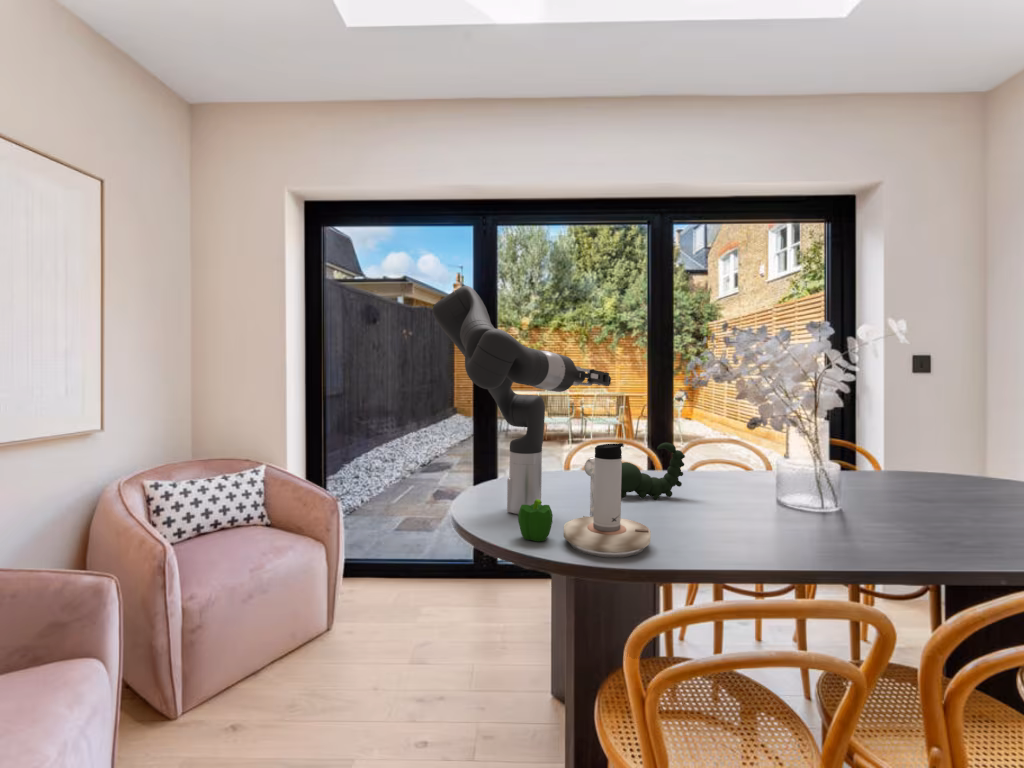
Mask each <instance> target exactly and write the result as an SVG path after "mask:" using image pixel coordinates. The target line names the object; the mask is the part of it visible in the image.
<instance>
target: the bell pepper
mask: <svg viewBox="0 0 1024 768" xmlns="http://www.w3.org/2000/svg"><path fill="white" fill-rule="evenodd" d="M542 502H543V501H542V499H541V500H539V499H536V500H535V501H534V504H531V505H521V507H520V510H519V513H518V514H517V516H518V519H517V520H518V521H517V522H518V525H519V529H520V534H521V536H522V537H523V539H524V540H528V541H529V540H531V541H533V542H544V541H546V540H547V539H548V537H549V535H550V532H551V529H552V524H553V516H554V515H553V511H552V509H551V506H550V505H549V504H544V505H542ZM540 504H541V505H540Z"/></svg>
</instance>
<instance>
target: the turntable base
mask: <svg viewBox="0 0 1024 768" xmlns="http://www.w3.org/2000/svg"><path fill="white" fill-rule="evenodd" d="M569 544H570V546H571V547H572V548H573V549H574V550H575V549H576V550H575V551H577V552H579V553H582V554H585V555H589V556H593V557H599V558H608V559H609V558H611V559H613V558H616V559H617V558H618V559H619V558H627V557H632V556H636V555H638V554H641V553H642V552H643V551H644V548H642V549H639V550H634V551H627V552H605V551H596V550H591V549H586V548H582V547H579V546H576V545H574V544H572V543H570V542H569Z"/></svg>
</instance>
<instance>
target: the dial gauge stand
mask: <svg viewBox="0 0 1024 768" xmlns="http://www.w3.org/2000/svg"><path fill="white" fill-rule="evenodd" d="M594 460H595V456H592V457H589V458H588V459H587V460H586V461H585V463H584V466H583V468H584V472H585V474H586V475H587V476H589V478H590V482H589V483H590V485H589V486H590V488H589V489H590V491H589V497H590V498H589V516H586V515H585V516H584V515H583V516H582V517H593V513H594Z"/></svg>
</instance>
